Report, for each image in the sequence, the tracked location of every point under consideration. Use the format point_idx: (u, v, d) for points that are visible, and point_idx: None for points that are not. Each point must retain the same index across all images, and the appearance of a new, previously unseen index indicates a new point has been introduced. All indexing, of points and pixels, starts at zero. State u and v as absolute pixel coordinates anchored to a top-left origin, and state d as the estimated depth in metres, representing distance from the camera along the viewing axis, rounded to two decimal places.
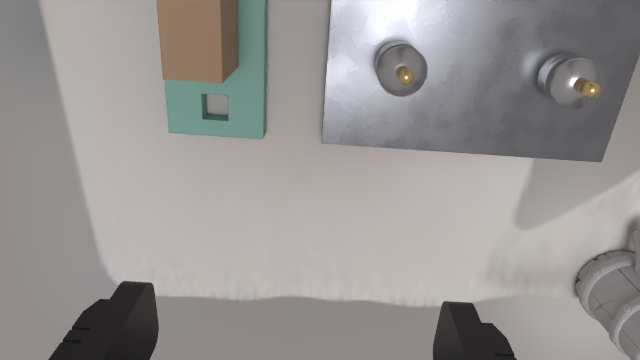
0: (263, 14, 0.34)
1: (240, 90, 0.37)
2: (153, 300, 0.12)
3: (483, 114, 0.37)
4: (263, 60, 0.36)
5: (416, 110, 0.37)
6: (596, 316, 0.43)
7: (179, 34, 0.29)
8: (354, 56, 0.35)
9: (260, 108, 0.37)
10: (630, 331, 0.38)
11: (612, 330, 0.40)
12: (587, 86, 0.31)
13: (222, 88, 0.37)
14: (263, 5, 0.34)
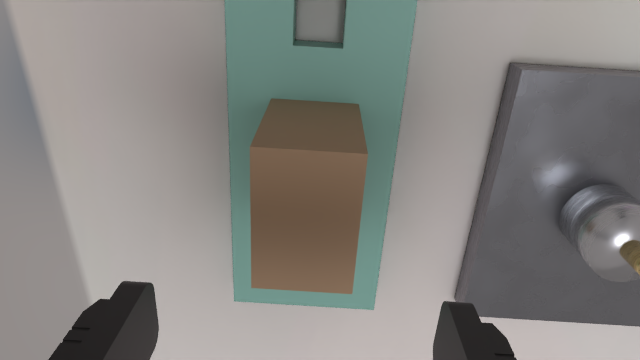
0: (395, 146, 0.22)
1: None
2: (153, 300, 0.12)
3: None
4: (386, 208, 0.23)
5: None
6: None
7: (286, 225, 0.17)
8: (530, 204, 0.23)
9: (374, 271, 0.25)
10: None
11: None
12: None
13: None
14: (396, 134, 0.21)
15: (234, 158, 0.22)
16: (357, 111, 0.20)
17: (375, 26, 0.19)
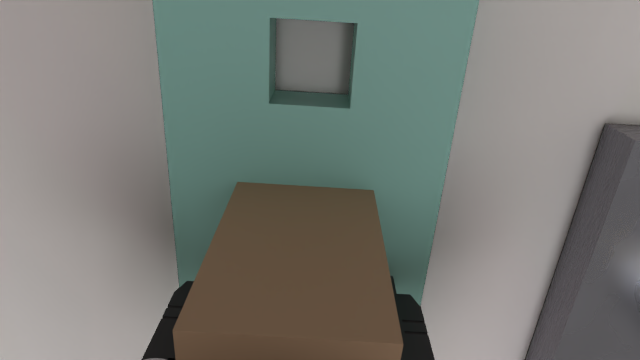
0: (428, 250, 0.14)
1: None
2: None
3: None
4: None
5: None
6: None
7: None
8: (627, 328, 0.15)
9: None
10: None
11: None
12: None
13: None
14: (431, 232, 0.14)
15: (185, 266, 0.15)
16: (373, 209, 0.12)
17: (402, 74, 0.12)
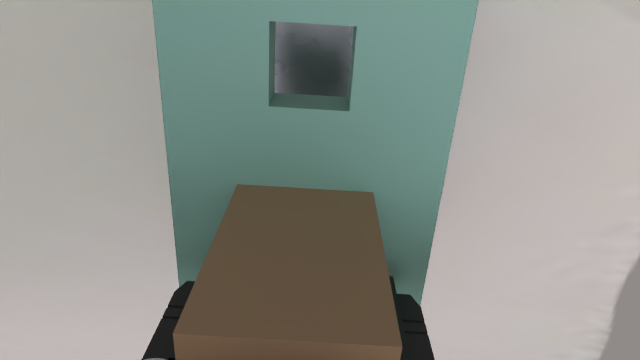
0: (427, 252, 0.14)
1: None
2: None
3: None
4: None
5: None
6: None
7: None
8: None
9: None
10: None
11: None
12: None
13: None
14: (430, 234, 0.14)
15: (185, 267, 0.15)
16: (372, 211, 0.12)
17: (401, 77, 0.12)
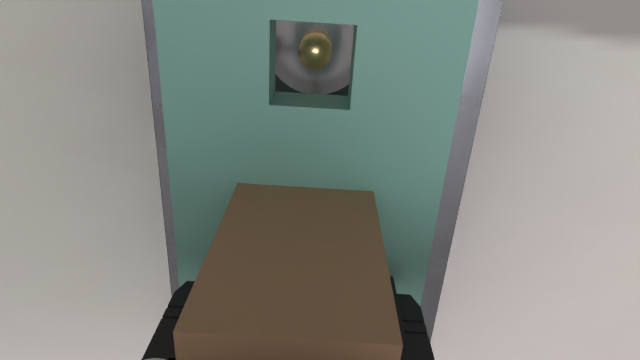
0: (428, 251, 0.14)
1: None
2: None
3: None
4: None
5: None
6: None
7: None
8: None
9: None
10: None
11: None
12: None
13: None
14: (431, 233, 0.14)
15: (185, 267, 0.15)
16: (373, 210, 0.12)
17: (402, 76, 0.12)
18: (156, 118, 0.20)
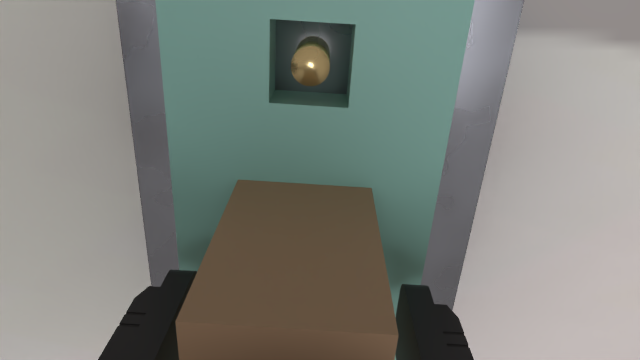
0: (425, 247, 0.14)
1: None
2: None
3: None
4: None
5: None
6: None
7: None
8: None
9: None
10: None
11: None
12: None
13: None
14: (428, 229, 0.14)
15: (186, 262, 0.15)
16: (370, 206, 0.12)
17: (399, 74, 0.12)
18: (135, 135, 0.18)
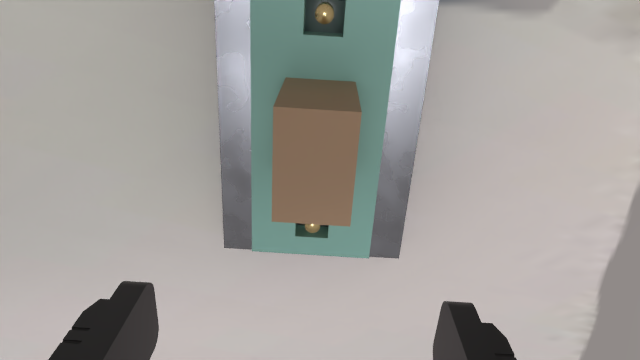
0: (385, 117, 0.27)
1: None
2: (153, 300, 0.12)
3: None
4: (378, 169, 0.28)
5: None
6: None
7: (299, 169, 0.22)
8: None
9: (369, 224, 0.30)
10: None
11: None
12: None
13: None
14: (386, 106, 0.26)
15: (255, 127, 0.27)
16: (354, 86, 0.25)
17: (368, 19, 0.24)
18: (218, 65, 0.30)
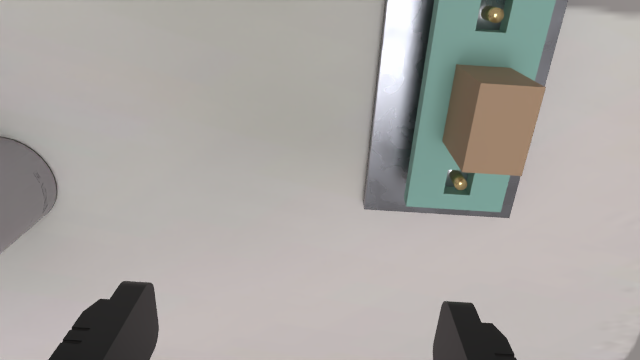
0: None
1: None
2: (153, 300, 0.12)
3: None
4: None
5: None
6: None
7: (491, 130, 0.29)
8: None
9: (505, 183, 0.37)
10: None
11: None
12: (490, 20, 0.32)
13: None
14: None
15: (425, 104, 0.35)
16: (515, 71, 0.32)
17: (527, 19, 0.32)
18: (382, 56, 0.38)
